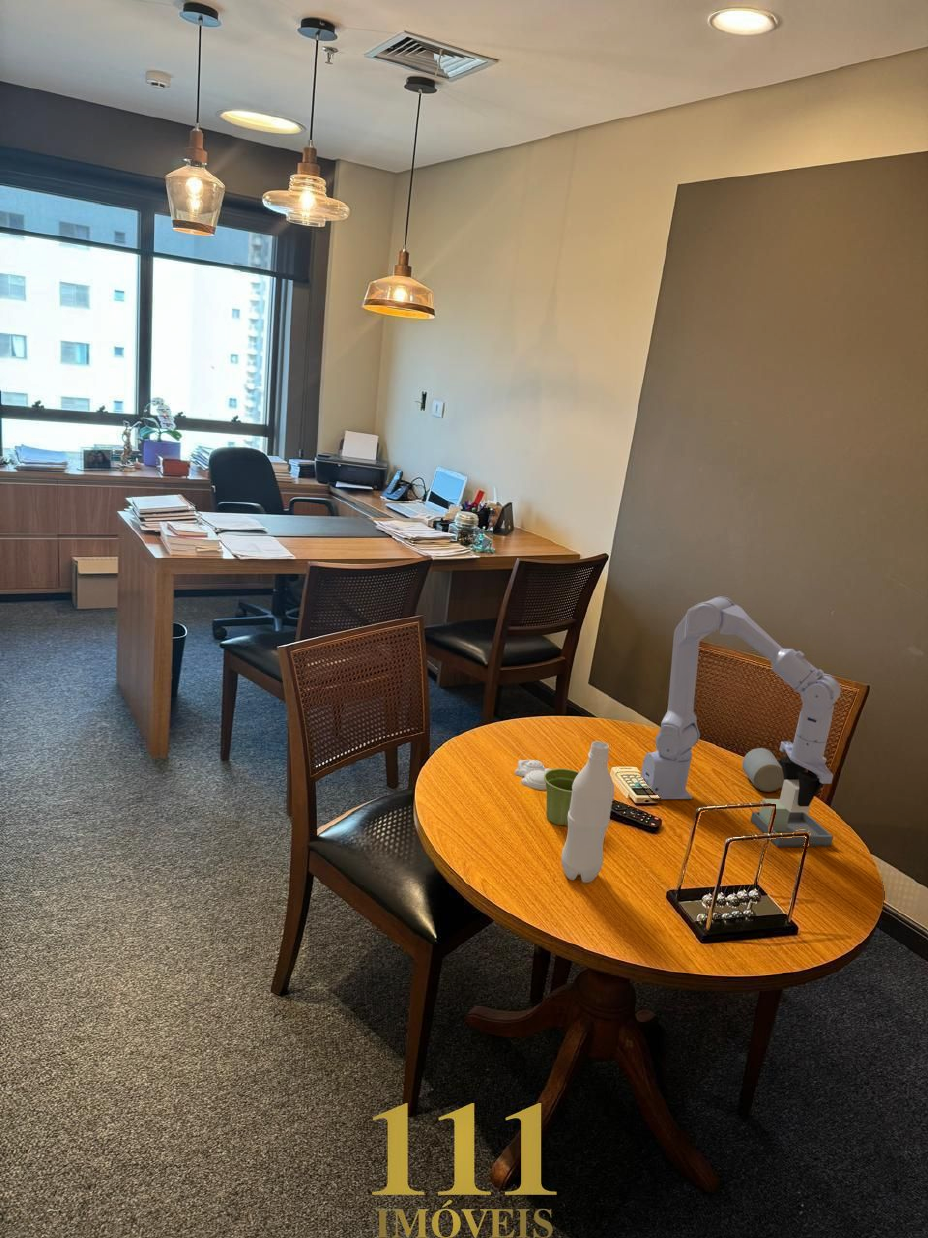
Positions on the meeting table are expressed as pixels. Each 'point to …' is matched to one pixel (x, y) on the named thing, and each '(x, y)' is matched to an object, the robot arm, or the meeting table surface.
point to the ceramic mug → (763, 770)
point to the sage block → (780, 816)
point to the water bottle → (588, 816)
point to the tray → (794, 823)
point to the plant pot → (559, 794)
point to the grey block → (791, 797)
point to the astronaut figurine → (532, 774)
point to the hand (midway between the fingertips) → (796, 799)
